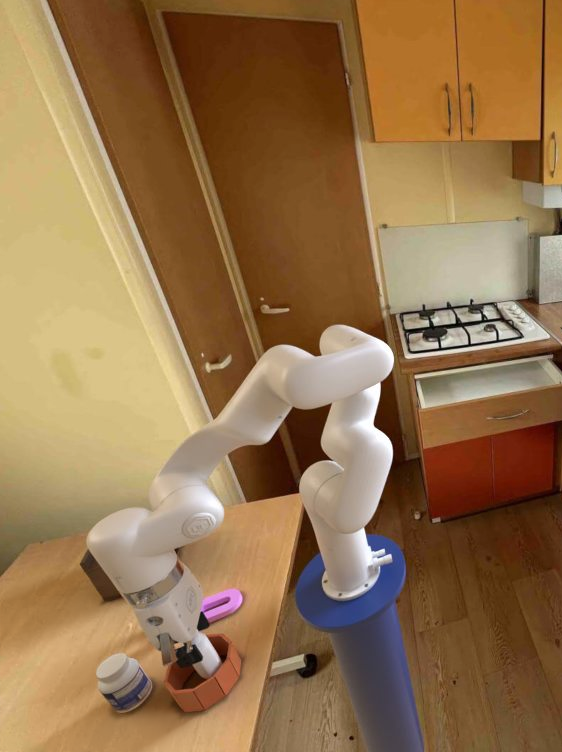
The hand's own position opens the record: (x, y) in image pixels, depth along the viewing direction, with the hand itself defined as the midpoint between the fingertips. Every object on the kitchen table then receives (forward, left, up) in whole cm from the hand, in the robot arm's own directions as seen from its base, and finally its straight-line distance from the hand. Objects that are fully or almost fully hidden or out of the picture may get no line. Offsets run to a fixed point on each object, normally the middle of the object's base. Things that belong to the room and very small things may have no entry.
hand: (196, 645), depth 74 cm
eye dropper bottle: (0, 0, -7) cm, 7 cm away
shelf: (+19, -34, -10) cm, 40 cm away
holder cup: (+1, 0, -10) cm, 10 cm away
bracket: (+4, -15, -10) cm, 19 cm away
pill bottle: (+13, -2, -10) cm, 16 cm away
